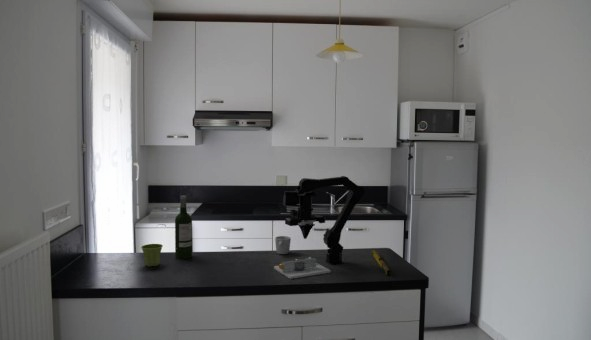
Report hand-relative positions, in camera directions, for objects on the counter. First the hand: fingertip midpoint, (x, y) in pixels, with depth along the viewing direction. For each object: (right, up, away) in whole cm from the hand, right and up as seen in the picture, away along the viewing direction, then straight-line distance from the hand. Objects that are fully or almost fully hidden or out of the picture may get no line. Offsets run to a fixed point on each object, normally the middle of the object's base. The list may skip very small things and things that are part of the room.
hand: (305, 238), depth 198 cm
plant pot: (-70, -12, -4) cm, 71 cm away
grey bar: (-4, -12, -11) cm, 16 cm away
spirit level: (+36, -13, +2) cm, 38 cm away
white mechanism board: (-2, -13, -9) cm, 16 cm away
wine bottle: (-59, -11, +10) cm, 61 cm away
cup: (-11, -11, +18) cm, 24 cm away
